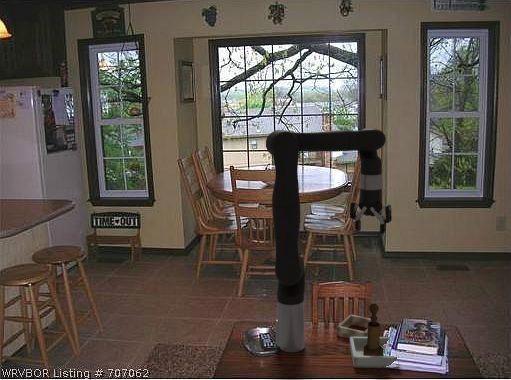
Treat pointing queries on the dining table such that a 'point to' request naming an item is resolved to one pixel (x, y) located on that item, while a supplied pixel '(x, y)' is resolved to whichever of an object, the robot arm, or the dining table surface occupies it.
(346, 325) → the beige square dish
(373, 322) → the brown pepper mill
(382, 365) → the tray
